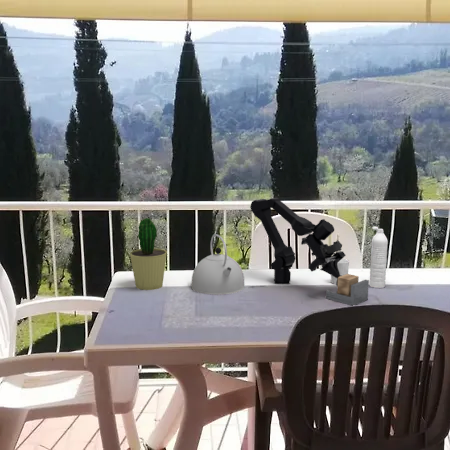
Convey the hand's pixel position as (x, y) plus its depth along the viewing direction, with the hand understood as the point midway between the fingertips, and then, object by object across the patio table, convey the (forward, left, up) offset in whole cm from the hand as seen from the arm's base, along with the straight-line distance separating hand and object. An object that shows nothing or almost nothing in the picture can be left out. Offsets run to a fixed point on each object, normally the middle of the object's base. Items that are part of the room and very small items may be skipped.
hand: (339, 278), depth 220 cm
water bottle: (+19, +16, -8) cm, 26 cm away
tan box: (+2, -2, -7) cm, 7 cm away
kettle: (-48, +13, -8) cm, 50 cm away
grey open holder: (+3, -3, -8) cm, 9 cm away
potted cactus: (-78, +15, -8) cm, 79 cm away
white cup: (+4, +20, -8) cm, 22 cm away
